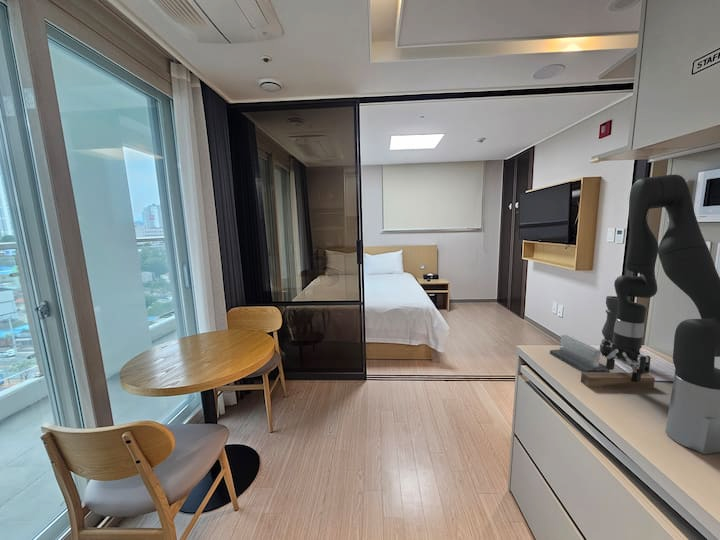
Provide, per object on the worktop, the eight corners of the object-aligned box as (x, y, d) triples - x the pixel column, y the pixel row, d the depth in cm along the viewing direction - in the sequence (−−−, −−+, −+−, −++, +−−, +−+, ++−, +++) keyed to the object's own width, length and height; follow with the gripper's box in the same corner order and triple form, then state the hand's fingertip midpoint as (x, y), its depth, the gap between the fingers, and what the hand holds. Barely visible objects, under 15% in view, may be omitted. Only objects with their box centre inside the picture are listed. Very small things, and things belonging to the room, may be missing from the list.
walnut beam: (653, 388, 101) (655, 377, 100) (587, 387, 102) (588, 377, 102) (644, 382, 104) (645, 372, 104) (580, 382, 106) (581, 372, 105)
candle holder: (621, 356, 124) (629, 299, 120) (607, 356, 124) (613, 299, 120) (609, 349, 130) (616, 295, 126) (595, 349, 130) (601, 296, 126)
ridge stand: (609, 371, 112) (611, 351, 110) (586, 374, 110) (588, 353, 109) (570, 351, 129) (571, 333, 128) (549, 353, 128) (551, 335, 127)
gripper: (661, 339, 94) (653, 385, 97) (616, 324, 108) (611, 364, 111) (641, 341, 93) (634, 387, 96) (599, 325, 107) (594, 366, 110)
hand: (621, 375), depth 104 cm, fingers open, 8 cm apart
